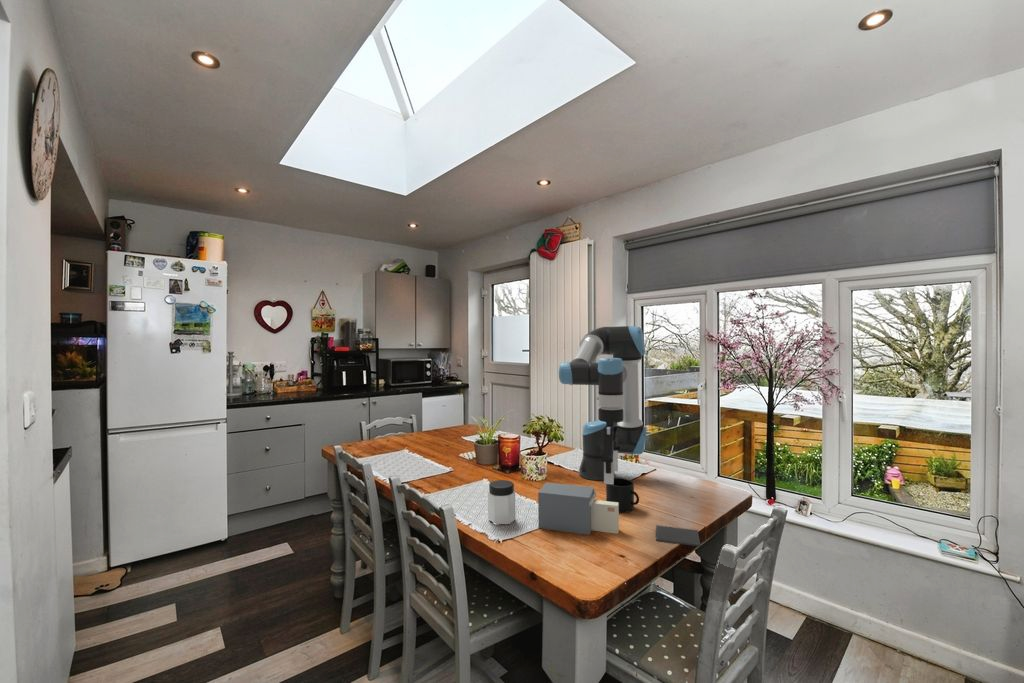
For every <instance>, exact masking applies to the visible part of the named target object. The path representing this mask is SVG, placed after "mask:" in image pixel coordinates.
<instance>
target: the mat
mask: <svg viewBox="0 0 1024 683" xmlns="http://www.w3.org/2000/svg"><path fill="white" fill-rule="evenodd" d="M655 527H656V528H655V529H656V530H655V540H656V542H660V543H661V542H662V543H663V542H664V543H670V544H676V543H679V545H684V546H690V547H691V546H692V547H700V548H701V545H702V544H701V541H700V535H699V531H698V529H690V528H681V527H674V526H666V525H665V526H664V525H658V524H657V525H656V526H655Z"/></svg>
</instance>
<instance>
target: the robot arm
mask: <svg viewBox="0 0 1024 683" xmlns="http://www.w3.org/2000/svg"><path fill="white" fill-rule="evenodd" d="M645 343H646V342H645V338H644V332H643V329H642V328H641V327H639V326H633V325H623V326H602V327H601V326H600V327H598V328H597V327H596V328H595V329H593V330H591V331H589V332H588V333H587V334H585V335H584V336H583V337H582V339H581V340H580V343H579V348H578V350H577V352H576V353H575V355H574V356H573V357H572V360H571V361H570V362H569V361H567V362H561V363H560V364H559V368H558V378H559V379H558V380H559V382H560V384H562V385H570V386H573V385H575V386H579V385H580V386H582V385H583V386H598V392H597V393H598V396H596V400H598V407H599V408H598V409H597V410H598V413H597V414H598V420H593V421H588V422H586V423H584V424H583V426H582V459H581V462H580V466H579V468H578V475H579V476H580V477H581V478H583V479H585V480H586V479H587V480H591V481H603V484H604V485H606V484H614V478H615V472H618V471H619V465H618V464H619V454H625V455H632V456H633V455H642V454H643V453H644V451H645V445H646V438H647V437H646V436H647V430H648V429H647V427H646V426H645V425H644V424H643V422H644V421H643V420H641V418H640V402H639V401H640V399H639V398H640V397H639V396H640V394H639V392H640V390H639V363H640V361H642V360H643V358H642V356H644V355H646V344H645ZM600 355H605V356H606V355H608V356H609V355H611V356H612V357H601V358H599V359H598V362H596V360H597V358H598V357H599V356H600Z"/></svg>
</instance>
